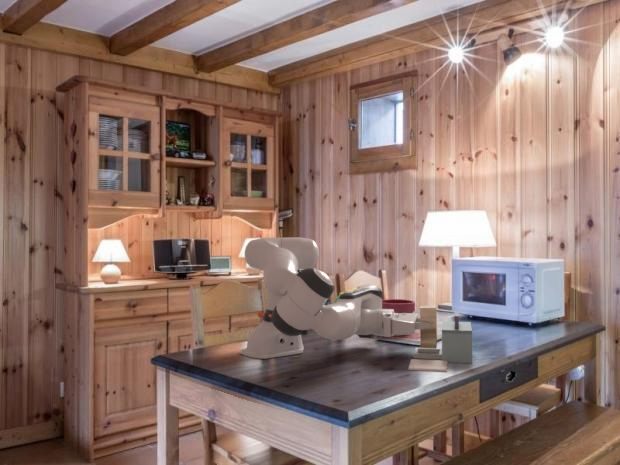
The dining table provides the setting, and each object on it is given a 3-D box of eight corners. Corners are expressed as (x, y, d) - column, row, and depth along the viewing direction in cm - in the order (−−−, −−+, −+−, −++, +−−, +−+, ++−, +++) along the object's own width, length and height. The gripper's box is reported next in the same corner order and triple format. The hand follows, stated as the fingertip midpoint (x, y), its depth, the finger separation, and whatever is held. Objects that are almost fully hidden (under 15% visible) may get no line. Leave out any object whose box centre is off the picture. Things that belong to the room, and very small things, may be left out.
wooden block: (436, 348, 181) (435, 308, 181) (420, 347, 182) (420, 307, 182) (436, 345, 185) (436, 306, 185) (421, 344, 187) (420, 305, 187)
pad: (446, 371, 163) (446, 369, 163) (408, 369, 166) (408, 367, 166) (447, 362, 174) (447, 360, 174) (411, 361, 177) (411, 359, 177)
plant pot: (416, 330, 227) (416, 299, 227) (413, 337, 214) (413, 303, 214) (381, 329, 231) (381, 298, 231) (376, 336, 218) (375, 303, 218)
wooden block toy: (472, 363, 173) (471, 317, 172) (412, 360, 177) (412, 316, 177) (471, 351, 188) (470, 310, 188) (416, 349, 193) (415, 308, 192)
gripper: (391, 326, 197) (432, 327, 193) (384, 337, 177) (429, 339, 174) (391, 308, 197) (432, 309, 193) (384, 317, 177) (429, 319, 174)
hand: (431, 323), depth 183 cm, fingers closed on wooden block, 5 cm apart
